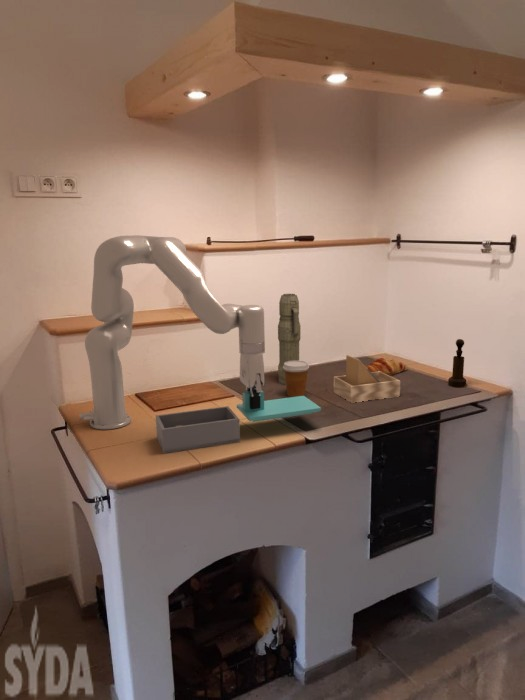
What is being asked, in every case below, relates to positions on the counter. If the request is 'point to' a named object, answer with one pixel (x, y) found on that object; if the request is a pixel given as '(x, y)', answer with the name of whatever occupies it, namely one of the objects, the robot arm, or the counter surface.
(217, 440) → the tub
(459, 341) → the dark brown tall piece
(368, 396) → the open rectangular storage box
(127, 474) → the counter surface
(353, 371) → the sandwich container
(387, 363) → the croissant
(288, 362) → the disposable coffee cup
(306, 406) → the lid
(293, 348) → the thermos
